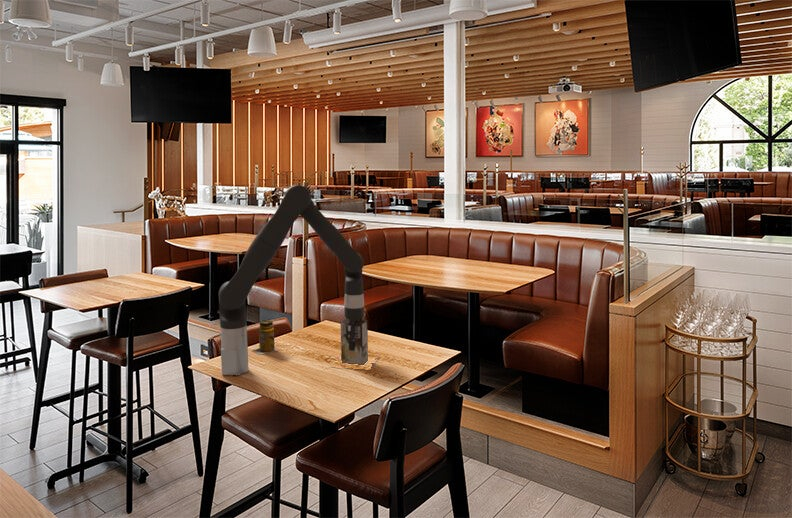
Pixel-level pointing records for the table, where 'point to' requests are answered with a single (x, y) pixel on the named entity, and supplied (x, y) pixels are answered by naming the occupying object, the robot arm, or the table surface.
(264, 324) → the condiment
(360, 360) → the coffee box
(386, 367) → the table surface
